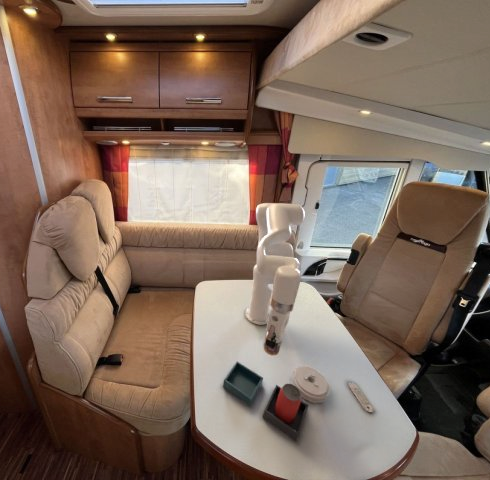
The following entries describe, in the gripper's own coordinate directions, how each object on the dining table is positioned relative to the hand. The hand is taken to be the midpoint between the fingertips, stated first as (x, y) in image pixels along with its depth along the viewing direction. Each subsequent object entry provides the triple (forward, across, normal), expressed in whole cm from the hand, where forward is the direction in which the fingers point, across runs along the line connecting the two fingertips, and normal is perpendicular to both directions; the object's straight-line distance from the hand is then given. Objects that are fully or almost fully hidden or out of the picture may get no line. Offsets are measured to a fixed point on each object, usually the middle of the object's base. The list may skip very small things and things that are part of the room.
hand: (273, 340), depth 85 cm
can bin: (+19, -10, -11) cm, 24 cm away
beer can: (+19, -10, -11) cm, 24 cm away
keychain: (+19, +13, -31) cm, 39 cm away
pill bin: (+19, -10, +5) cm, 22 cm away
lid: (+20, +6, -15) cm, 25 cm away
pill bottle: (+5, 0, 0) cm, 5 cm away
